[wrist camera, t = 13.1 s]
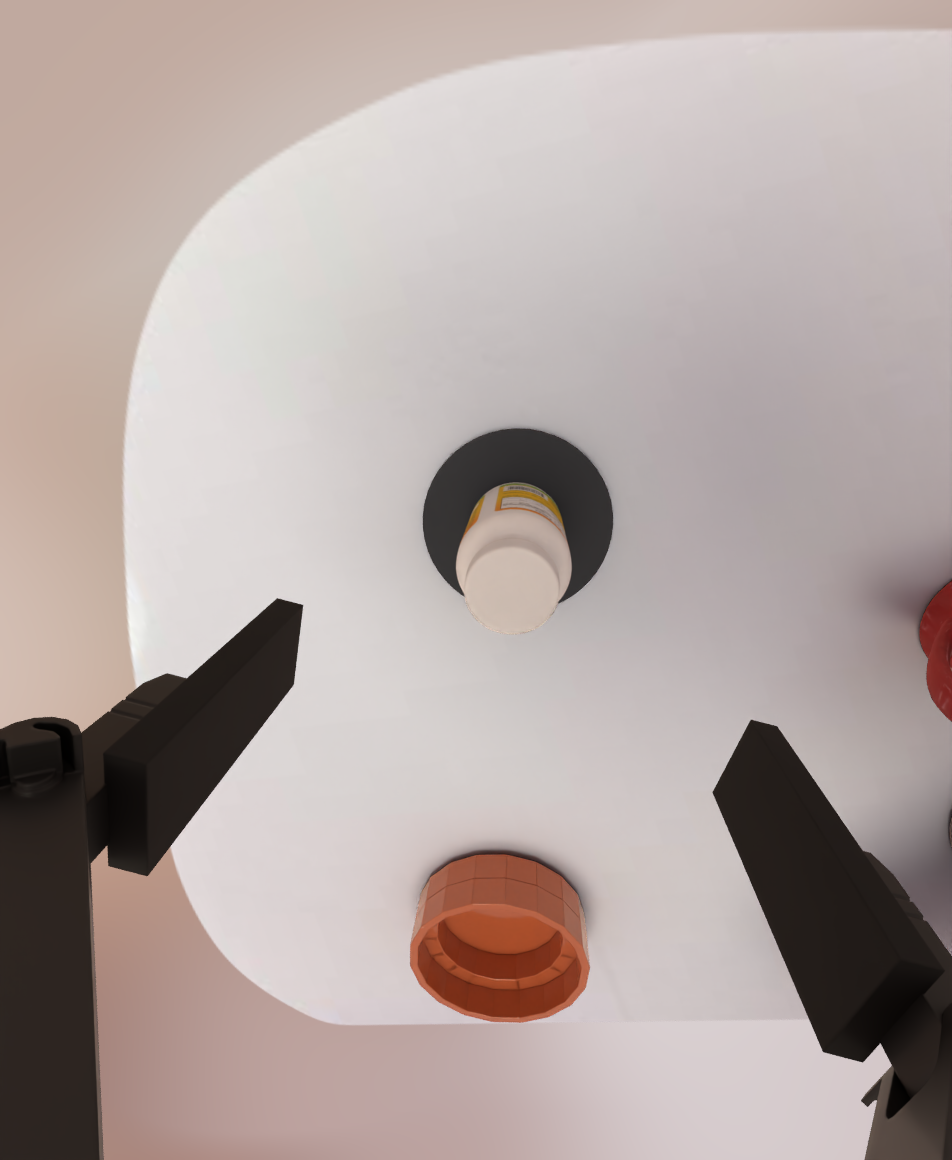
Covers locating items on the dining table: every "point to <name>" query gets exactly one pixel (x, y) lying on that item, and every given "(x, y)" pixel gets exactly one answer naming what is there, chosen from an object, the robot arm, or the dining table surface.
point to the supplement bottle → (514, 559)
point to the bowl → (500, 939)
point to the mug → (939, 648)
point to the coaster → (523, 462)
